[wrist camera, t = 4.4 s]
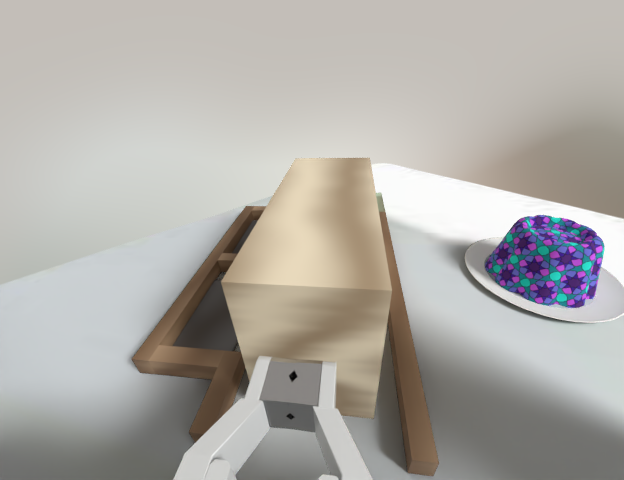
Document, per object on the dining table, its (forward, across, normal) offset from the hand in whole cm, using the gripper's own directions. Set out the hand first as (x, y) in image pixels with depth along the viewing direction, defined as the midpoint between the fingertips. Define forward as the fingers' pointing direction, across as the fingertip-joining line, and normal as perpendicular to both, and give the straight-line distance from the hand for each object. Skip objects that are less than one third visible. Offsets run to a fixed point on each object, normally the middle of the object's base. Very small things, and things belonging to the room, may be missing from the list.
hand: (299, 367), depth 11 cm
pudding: (+16, -19, +8) cm, 26 cm away
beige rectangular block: (+11, 0, +8) cm, 14 cm away
